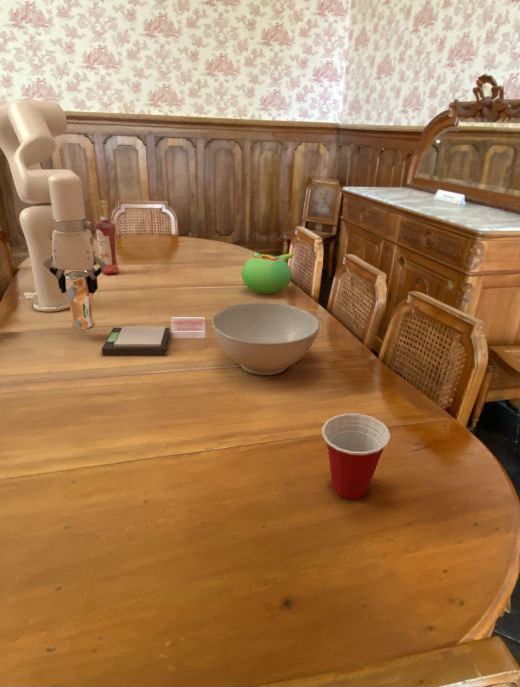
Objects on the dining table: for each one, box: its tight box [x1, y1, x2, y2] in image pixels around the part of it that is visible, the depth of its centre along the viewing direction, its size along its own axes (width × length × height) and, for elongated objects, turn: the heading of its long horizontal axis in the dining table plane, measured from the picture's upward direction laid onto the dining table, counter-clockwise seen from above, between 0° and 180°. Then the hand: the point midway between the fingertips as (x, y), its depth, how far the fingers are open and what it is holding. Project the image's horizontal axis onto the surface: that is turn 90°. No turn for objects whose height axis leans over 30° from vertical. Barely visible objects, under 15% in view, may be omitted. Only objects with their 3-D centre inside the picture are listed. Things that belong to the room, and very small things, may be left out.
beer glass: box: [64, 270, 96, 331], centre depth 128 cm, size 7×7×15 cm
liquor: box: [95, 200, 120, 276], centre depth 183 cm, size 7×7×28 cm
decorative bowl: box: [210, 301, 321, 376], centre depth 119 cm, size 27×27×12 cm
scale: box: [101, 325, 171, 356], centre depth 129 cm, size 16×14×3 cm
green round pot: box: [241, 252, 295, 295], centre depth 170 cm, size 18×17×15 cm
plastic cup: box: [321, 412, 391, 500], centre depth 78 cm, size 11×11×12 cm
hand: (79, 291), depth 127 cm, fingers closed on beer glass, 7 cm apart
